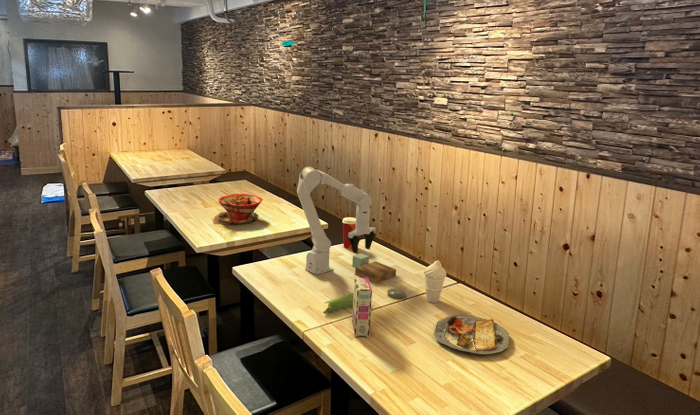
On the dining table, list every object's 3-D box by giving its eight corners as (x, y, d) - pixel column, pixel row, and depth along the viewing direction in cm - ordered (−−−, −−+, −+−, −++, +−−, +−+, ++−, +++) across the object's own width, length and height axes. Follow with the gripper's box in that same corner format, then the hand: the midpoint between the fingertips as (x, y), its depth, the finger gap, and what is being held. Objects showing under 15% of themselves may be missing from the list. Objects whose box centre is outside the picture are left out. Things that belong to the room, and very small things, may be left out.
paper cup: (355, 250, 252) (356, 222, 249) (339, 248, 254) (340, 220, 250) (358, 245, 260) (359, 217, 256) (343, 243, 261) (344, 216, 257)
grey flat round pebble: (397, 301, 200) (397, 297, 199) (383, 295, 204) (383, 291, 204) (409, 296, 204) (409, 292, 204) (395, 290, 209) (396, 287, 209)
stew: (235, 230, 275) (235, 200, 271) (203, 222, 287) (202, 193, 283) (271, 219, 298) (271, 191, 294) (240, 211, 310) (240, 184, 306)
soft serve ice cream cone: (430, 306, 195) (433, 265, 191) (417, 298, 202) (420, 258, 198) (448, 303, 199) (452, 262, 195) (435, 294, 206) (438, 255, 202)
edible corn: (370, 293, 194) (363, 286, 197) (324, 307, 183) (317, 299, 186) (368, 304, 197) (361, 297, 200) (322, 318, 186) (315, 310, 189)
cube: (360, 269, 228) (360, 258, 227) (352, 266, 232) (352, 255, 231) (368, 267, 232) (369, 256, 231) (360, 263, 235) (361, 253, 234)
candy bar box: (370, 337, 171) (372, 290, 167) (354, 337, 171) (356, 290, 167) (366, 321, 182) (368, 276, 178) (351, 321, 182) (353, 276, 177)
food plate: (440, 315, 189) (441, 306, 188) (508, 327, 182) (509, 317, 181) (429, 351, 166) (430, 341, 164) (507, 366, 159) (508, 355, 158)
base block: (375, 283, 215) (376, 276, 214) (355, 274, 223) (355, 267, 222) (395, 276, 223) (396, 269, 222) (375, 267, 231) (375, 261, 230)
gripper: (356, 225, 219) (355, 256, 222) (381, 219, 229) (379, 249, 232) (345, 221, 224) (344, 252, 227) (369, 216, 234) (368, 245, 237)
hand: (361, 250), depth 230 cm, fingers open, 7 cm apart
